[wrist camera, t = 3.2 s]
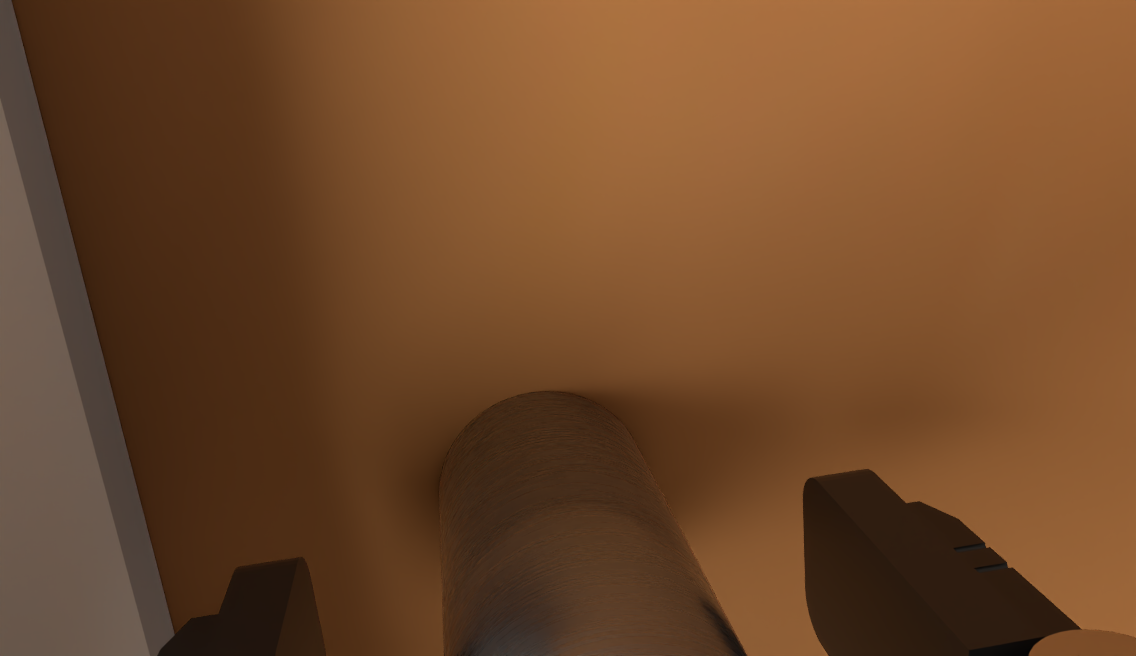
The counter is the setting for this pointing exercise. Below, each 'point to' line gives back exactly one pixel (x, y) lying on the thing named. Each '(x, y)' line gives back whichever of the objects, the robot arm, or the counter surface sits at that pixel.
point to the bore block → (59, 423)
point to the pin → (566, 542)
